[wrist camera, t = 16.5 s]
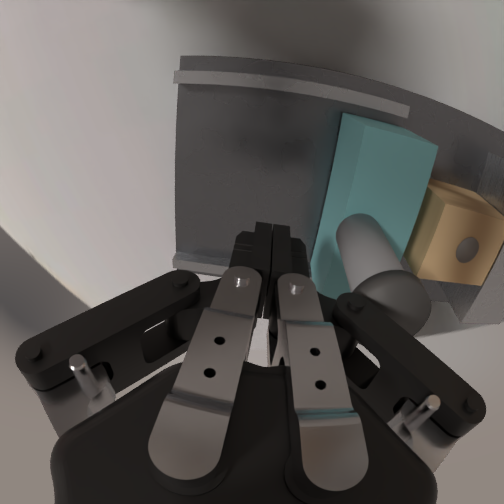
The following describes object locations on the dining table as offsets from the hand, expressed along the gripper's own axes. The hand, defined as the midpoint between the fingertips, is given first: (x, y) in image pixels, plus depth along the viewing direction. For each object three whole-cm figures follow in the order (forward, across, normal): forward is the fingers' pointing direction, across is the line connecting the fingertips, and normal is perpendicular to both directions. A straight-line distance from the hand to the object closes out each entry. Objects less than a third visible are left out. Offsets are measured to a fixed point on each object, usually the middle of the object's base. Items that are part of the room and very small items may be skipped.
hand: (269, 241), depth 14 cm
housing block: (+7, -12, 0) cm, 14 cm away
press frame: (+9, -8, 0) cm, 11 cm away
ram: (+7, -5, 0) cm, 9 cm away
